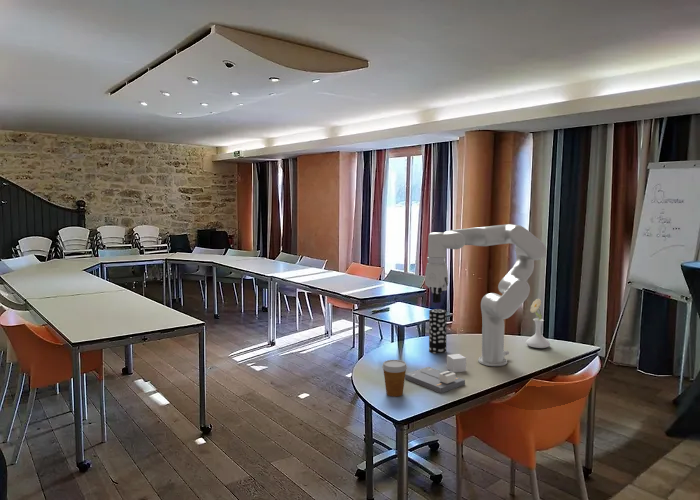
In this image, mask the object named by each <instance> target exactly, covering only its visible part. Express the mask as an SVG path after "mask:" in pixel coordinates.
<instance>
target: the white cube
mask: <svg viewBox="0 0 700 500" xmlns="http://www.w3.org/2000/svg"><path fill="white" fill-rule="evenodd" d="M466 364H467V357H465V356H463V355H462V354H460V353H453V354H446V368H447V370H448V371H452V372H453V373H460V372H466V371H467V365H466Z"/></svg>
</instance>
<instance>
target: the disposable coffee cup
mask: <svg viewBox="0 0 700 500" xmlns="http://www.w3.org/2000/svg"><path fill="white" fill-rule="evenodd" d="M382 363H383V364H382V366H381V368H382V370H383V375H384V378H383V379H384V385H385V392H386V395H387V396H389V397H396V398H397V397H400V396H401V397H402V395H403V394H404V387H405V386H404V385H405V380H406V379H405V374H406V370H407V368H408V365H407V363H406V361H403V360H400V359H389V360H385V361H383V362H382Z"/></svg>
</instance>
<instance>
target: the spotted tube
mask: <svg viewBox="0 0 700 500" xmlns="http://www.w3.org/2000/svg"><path fill="white" fill-rule="evenodd" d="M428 312H429V313H428V325H429V326H428V351H429V353H431V354H437V355H439V354H440V355H441V354H445V353H447V331H448V329H447V325H448V324H447V323H448V322H447V319H448V317H447V316H448V315H447V313H448V311H447V310H446V309H442V308H441V309H440V308H432V309H429V310H428Z"/></svg>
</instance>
